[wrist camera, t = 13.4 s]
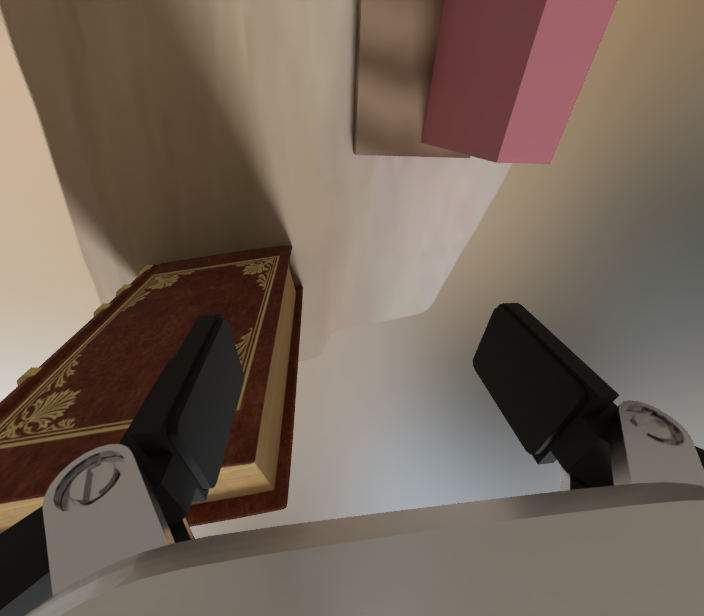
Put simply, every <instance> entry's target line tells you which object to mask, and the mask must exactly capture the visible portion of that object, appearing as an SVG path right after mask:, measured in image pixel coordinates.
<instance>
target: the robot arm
mask: <svg viewBox="0 0 704 616" xmlns="http://www.w3.org/2000/svg"><path fill="white" fill-rule="evenodd" d="M473 367H474V369H475V371H476V372H477V374H478V375H479V377H480V378H481V380H482V382H483V383H484V385H485V386H486V388H487V390H488V391H489V393H490V394H491V396H492V398H493V399H494V401H495V402H496V404H497V406H498V407H499V409H500V410H501V412H502V414H503V415H504V417H505V418H506V420H507V421H508V423H509V425H510V426H511V428H512V429H513V431H514V433H515V434H516V436H517V437H518V439H519V441H520V442H521V444H522V445H523V447H524V448H525V450H526V451H527V452H528V453H529V454H532V455H533V457H534V459H535V460H536V462H537V463H538V464H546V463H554V462H555V461H556V460H558V462H559V463H560V465H561V491H559V492H551V493H542V494H534V495H525V496H517V497H508V498H500V499H491V500H484V501H475V502H466V503H458V504H451V505H442V506H435V507H426V508H418V509H410V510H401V511H393V512H386V513H377V514H370V515H362V516H354V517H346V518H338V519H330V520H323V521H315V522H307V523H299V524H291V525H283V526H276V527H269V528H263V529H256V530H250V531H242V532H235V533H229V534H222V535H215V536H208V537H203V538H198V539H195V538H194V536H193V534H192V532H191V529H190V527H189V525H188V523H187V521H186V518H185V517H186V516H187V515H188V513H189V510H190V507H191V504H192V502H198V501H206V499H207V496H208V492H209V489H210V488H214V487H215V486H216V483H217V481H218V477H219V473H220V469H221V466H222V462H223V458H224V455H225V451H226V447H227V443H228V440H229V436H230V432H231V428H232V425H233V421H234V417H235V413H236V410H237V406H238V402H239V398H240V395H241V391H242V387H243V383H244V373H243V369H242V366H241V363H240V359H239V356H238V352H237V349H236V346H235V342H234V339H233V335H232V332H231V329H230V325H229V322H228V319H227V318H222V316H221V315H220V314H202V315H199V316H198V318H197V320H196V321H195V323H194V325H193V326H192V328H191V330H190V332H189V333H188V335H187V337H186V338H185V340H184V342H183V344H182V345H181V347H180V349H179V351H178V352H177V354H176V356H175V357H173V358H171V359H170V360H169V361H168V362H167V364H166V366H165V367H164V369H163V371H162V372H161V374H160V376H159V377H158V379H157V381H156V382H155V384H154V386H153V387H152V389H151V391H150V392H149V394H148V396H147V397H146V399H145V401H144V402H143V404H142V406H141V407H140V409H139V411H138V412H137V414H136V416H135V417H134V419H133V421H132V422H131V424H130V426H129V427H128V429H127V431H126V432H125V434H124V436H123V438H122V439H121V441H120V443H119V444H109V445H105V446H101V447H97V448H95V449H93V450H91V451H89V452H87V453H85V454H83V455H82V456H80V457H79V458H77V459H76V460H74V461H73V462H71V463H70V464H69V465H68V466H67V467H66V468H65V469H64V470H62V471H61V472H60V473H59V474H58V476H57V477H56V478H55V479H54V481H53V482H52V483H51V484H50V486H49V488H48V490H47V492H46V494H45V496H44V501H43V506H41V507H40V508H38V509H37V510H35V511H34V512H32V513H31V514H29V515H28V516H26V517H25V518H23V519H22V520H20V521H19V522H17V523H16V524H14V525H13V526H11V527H10V528H8V529H7V530H5V531H4V532H2V533H1V534H0V616H704V450H703V449H700V448H698V447H696V446H694V443H693V441H692V439H691V437H690V435H689V434H688V432H687V431H686V430H685V429H684V428H683V427H682V426H681V425H680V424H679V423H678V422H677V421H676V420H674V419H673V418H672V417H671V416H669V415H667V414H666V413H664V412H662V411H660V410H659V409H657V408H655V407H653V406H650V405H648V404H645V403H641V402H638V401H630V400H629V401H624V402H622V403H621V404H620V405H619V406H618V407H617V406H616V405H615V404H614V403H613V401H614V400H615V399H616V398H617V397H618V396H619V394H618V393H617V392H615V391H614V390H613V389H612V388H611V387H610V386H609V385H608V384H607V383H605V382H604V381H603V380H602V379H601V378H600V377H599V376H598V375H597V374H596V373H595V372H594V371H593V370H591V369H590V368H589V367H588V366H587V365H586V364H585V363H584V362H583V361H582V360H581V359H580V358H578V357H577V356H576V355H575V354H574V353H573V352H572V351H571V350H570V349H569V348H568V347H566V346H565V345H564V344H563V343H562V342H561V341H560V340H559V339H558V338H557V337H556V336H554V335H553V334H552V333H551V332H550V331H549V330H548V329H547V328H546V327H545V326H544V325H543V324H541V323H540V322H539V321H538V320H537V319H536V318H535V317H534V316H533V315H532V314H530V313H529V312H528V311H527V310H526V309H525V308H524V307H523V306H522V305H520V304H519V303H503V304H500V305H499V306H498V307H497V308H495V309H494V311H493V313H492V315H491V318H490V320H489V323H488V325H487V328H486V330H485V332H484V334H483V337H482V339H481V342H480V344H479V346H478V349H477V351H476V354H475V356H474V358H473Z"/></svg>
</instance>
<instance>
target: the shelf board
mask: <svg viewBox="0 0 704 616" xmlns="http://www.w3.org/2000/svg"><path fill="white" fill-rule="evenodd" d="M443 4H444V0H359V7H358V37H357V66H356V96H355V126H354V154H355V155H384V156H420V157H455V158H470V155H466V154H462V153H458V152H454V151H450V150H447V149H443V148H439V147H435V146H431V145H427V144H424V143H422V137H423V130H424V124H425V118H426V111H427V105H428V99H429V92H430V86H431V80H432V74H433V67H434V61H435V55H436V48H437V42H438V36H439V30H440V23H441V17H442V11H443Z"/></svg>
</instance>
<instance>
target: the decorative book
mask: <svg viewBox="0 0 704 616" xmlns="http://www.w3.org/2000/svg"><path fill="white" fill-rule="evenodd" d="M291 250H292V246H280V247H270V248H262V249H255V250H248V251H242V252H235V253H229V254H222V255H216V256H209V257H202V258H196V259H189V260H183V261H176V262H170V263H163V264H161V265H160V266H159V267H158V266H156V265H146V266H145V267H144V268H143V269H142V270H141V271H140V272H139V273H138V277H137V278H136V279H135V280H134V281H133V282H132V283H131V284H130V285H124V286H123V287H121V288H120V289H119V290H118V291H117V292H116V297H115V298H114V299H113V300H112V301H111V302H110V303H109V304H102V305H101V306H100V307H99V308H98V309H97V310H96V311H95V312H94V318H93V319H92V320H90V321H89V322H88V323H87V324H86V325H85V326H84V327H83V328H81V329H80V330H79V331H78V332H77V333H76V334H75V335H74V336H73V337H72V338H71V339H69V340H68V341H67V342H66V343H65V344H64V345H63V346H62V347H61V348H60V349H58V351H56V352H55V353H54V354H53V355H52V356H51V357H50V358H49V359H47V360H46V361H45V362H44V363H43V364H42V365H41V366H40V367H39V368H30V369H29V370H28V371H27V372H26V373H25V374H24V375H22V377H20V378H19V379H18V380H17V384H18V387H17V388H16V389H15V390H14V391H12V392H11V393H10V394H9V395H8V396H7V397H6V398H5V399H4V400H3V401H1V402H0V534H1V533H2V532H4V531H5V530H7V529H8V528H10V527H11V526H13V525H14V524H16V523H17V522H19V521H20V520H22V519H23V518H25V517H26V516H28V515H29V514H31V513H32V512H34V511H35V510H37V509H38V508H40V507H41V506H43V501H44V496H45V494H46V492H47V490H48V488H49V486H50V484H51V483H52V482H53V481H54V479H55V478H56V477H57V476H58V474H59V473H60V472H61V471H62V470H64V469H65V468H66V467H67V466H68V465H69V464H70V463H71V462H73V461H74V460H76V459H77V458H79V457H80V456H82V455H83V454H85V453H87V452H89V451H91V450H93V449H95V448H97V447H101V446H105V445H109V444H119V443H120V441H121V439H122V438H123V436H124V434H125V432H126V431H127V429H128V427H129V426H130V424H131V422H132V421H133V419H134V417H135V416H136V414H137V412H138V411H139V409H140V407H141V406H142V404H143V402H144V401H145V399H146V397H147V396H148V394H149V392H150V391H151V389H152V387H153V386H154V384H155V382H156V381H157V379H158V377H159V376H160V374H161V372H162V371H163V369H164V367H165V366H166V364H167V362H168V361H169V360H170V359H171V358H173V357H175V356H176V354H177V352H178V351H179V349H180V347H181V345H182V344H183V342H184V340H185V338H186V337H187V335H188V333H189V332H190V330H191V328H192V326H193V325H194V323H195V321H196V320H197V318H198V316H199V315H202V314H220V315H221V316H222V318H227V319H228V322H229V325H230V329H231V332H232V335H233V339H234V342H235V346H236V349H237V352H238V356H239V359H240V363H241V366H242V369H243V373H244V383H243V387H242V391H241V395H240V398H239V402H238V406H237V410H236V413H235V417H234V421H233V425H232V428H231V432H230V436H229V440H228V443H227V447H226V451H225V455H224V458H223V462H222V466H221V469H220V473H219V477H218V481H217V483H216V486H215V487H214V488H210V489H209V492H208V496H207V499H206V501H198V502H192V504H191V507H190V510H189V513H188V515H187V516H186V517H185V518H186V521H187V523H188V525H189V527H190V526H196V525H202V524H208V523H213V522H219V521H225V520H230V519H236V518H241V517H246V516H251V515H256V514H262V513H267V512H272V511H276V510H281V509H284V508H286V506H287V500H288V488H289V478H290V466H291V453H292V440H293V427H294V413H295V397H296V383H297V369H298V355H299V341H300V327H301V312H302V296H303V287H302V286H299V287H295V286H294V283H293V279H292V276H291V272H290V269H289V259H290V254H291Z"/></svg>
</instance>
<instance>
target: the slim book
mask: <svg viewBox="0 0 704 616" xmlns="http://www.w3.org/2000/svg"><path fill="white" fill-rule="evenodd" d="M617 1H618V0H444V4H443V11H442V17H441V23H440V30H439V36H438V42H437V48H436V55H435V61H434V67H433V74H432V80H431V86H430V92H429V99H428V105H427V111H426V118H425V124H424V130H423V137H422V143H424V144H427V145H431V146H435V147H439V148H443V149H447V150H450V151H454V152H458V153H462V154H466V155H470V156H473V157H477V158H481V159H485V160H489V161H493V162H497V163H533V164H550V163H551V161H552V158H553V156H554V153H555V151H556V148H557V146H558V144H559V141H560V139H561V136H562V134H563V131H564V129H565V127H566V124H567V122H568V119H569V117H570V115H571V112H572V110H573V107H574V105H575V102H576V100H577V98H578V95H579V93H580V90H581V88H582V85H583V83H584V81H585V78H586V75H587V73H588V71H589V68H590V66H591V63H592V61H593V59H594V56H595V54H596V51H597V49H598V47H599V44H600V41H601V39H602V37H603V34H604V32H605V29H606V27H607V25H608V22H609V20H610V17H611V15H612V12H613V10H614V8H615V5H616V3H617Z"/></svg>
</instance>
